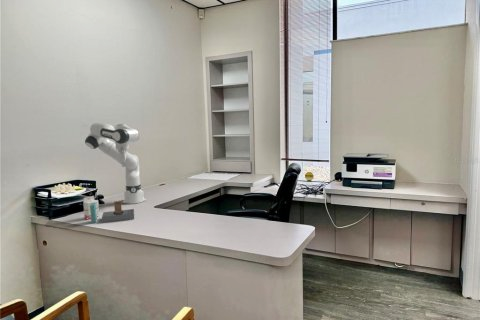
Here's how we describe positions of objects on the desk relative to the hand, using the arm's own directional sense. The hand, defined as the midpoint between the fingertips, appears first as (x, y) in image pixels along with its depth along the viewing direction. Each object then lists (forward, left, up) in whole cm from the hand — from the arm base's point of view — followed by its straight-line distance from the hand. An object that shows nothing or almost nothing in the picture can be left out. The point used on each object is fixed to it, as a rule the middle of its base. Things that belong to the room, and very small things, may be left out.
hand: (123, 165), depth 237 cm
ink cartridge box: (+6, -23, -34) cm, 42 cm away
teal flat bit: (+17, -20, -34) cm, 43 cm away
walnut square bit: (+16, -5, -34) cm, 38 cm away
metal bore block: (+16, -5, -34) cm, 38 cm away
